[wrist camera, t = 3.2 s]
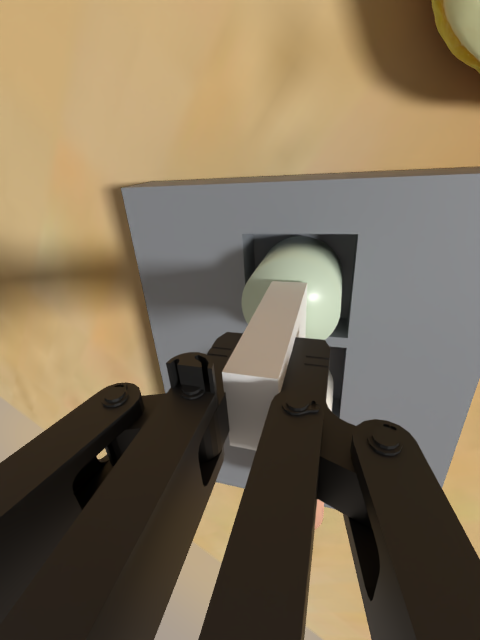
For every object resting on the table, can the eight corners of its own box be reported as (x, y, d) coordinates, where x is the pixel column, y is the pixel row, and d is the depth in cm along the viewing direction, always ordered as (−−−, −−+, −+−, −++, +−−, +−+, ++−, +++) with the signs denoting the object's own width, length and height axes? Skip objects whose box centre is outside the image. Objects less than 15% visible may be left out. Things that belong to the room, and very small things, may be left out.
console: (197, 445, 30) (183, 474, 27) (150, 181, 19) (120, 188, 17) (419, 489, 25) (427, 530, 22) (515, 165, 14) (550, 170, 12)
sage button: (262, 309, 20) (244, 345, 16) (259, 235, 18) (238, 258, 14) (339, 315, 18) (336, 354, 15) (346, 236, 16) (345, 261, 13)
